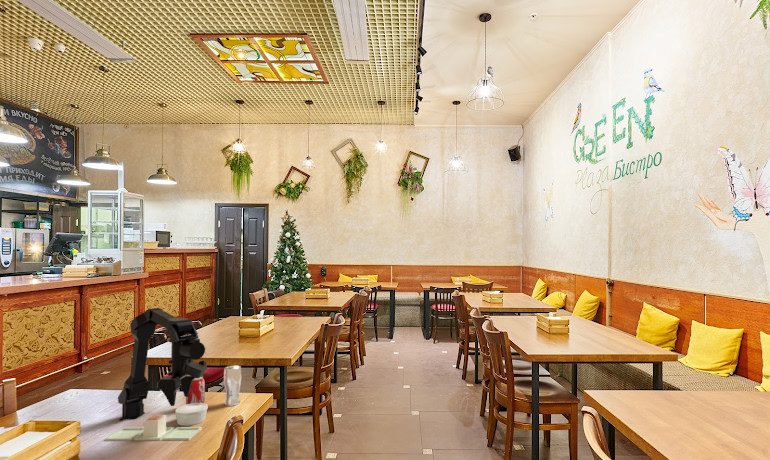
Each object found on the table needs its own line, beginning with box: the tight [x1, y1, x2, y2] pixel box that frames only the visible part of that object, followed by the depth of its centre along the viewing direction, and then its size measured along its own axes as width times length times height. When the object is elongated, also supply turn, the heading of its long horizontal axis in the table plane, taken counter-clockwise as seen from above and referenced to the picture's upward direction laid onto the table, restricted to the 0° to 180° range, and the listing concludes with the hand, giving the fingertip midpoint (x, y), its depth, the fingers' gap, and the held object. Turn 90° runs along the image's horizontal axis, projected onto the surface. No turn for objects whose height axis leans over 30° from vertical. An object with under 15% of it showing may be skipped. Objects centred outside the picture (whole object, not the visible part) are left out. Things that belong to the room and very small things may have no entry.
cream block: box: [143, 414, 167, 438], centre depth 145 cm, size 5×5×6 cm
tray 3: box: [162, 426, 203, 441], centre depth 144 cm, size 9×9×1 cm
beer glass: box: [223, 364, 242, 407], centre depth 176 cm, size 7×7×15 cm
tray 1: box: [104, 426, 144, 442], centre depth 145 cm, size 9×9×1 cm
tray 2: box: [133, 426, 175, 441], centre depth 145 cm, size 9×9×1 cm
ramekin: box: [174, 402, 209, 427], centre depth 157 cm, size 11×11×5 cm
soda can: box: [185, 375, 206, 405], centre depth 172 cm, size 7×7×12 cm
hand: (179, 401), depth 145 cm, fingers open, 9 cm apart
